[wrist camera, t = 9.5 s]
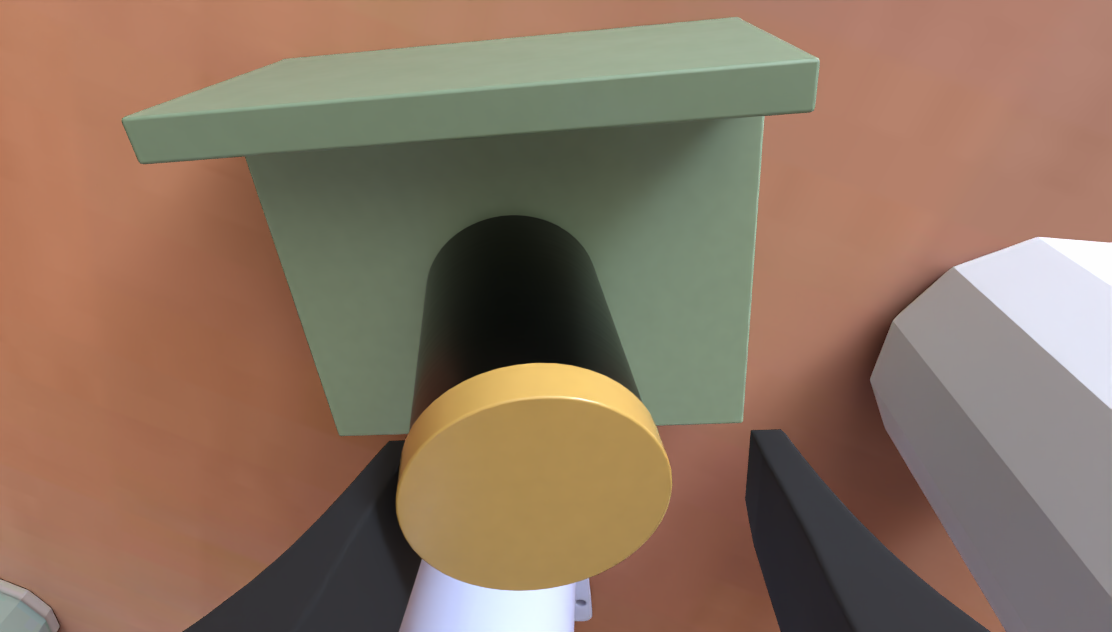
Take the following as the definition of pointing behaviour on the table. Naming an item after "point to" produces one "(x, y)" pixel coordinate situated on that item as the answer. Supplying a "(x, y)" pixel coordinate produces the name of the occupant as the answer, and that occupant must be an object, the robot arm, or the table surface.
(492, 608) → the robot arm
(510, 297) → the canister
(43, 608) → the disposable coffee cup
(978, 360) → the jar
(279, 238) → the shelf
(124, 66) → the table surface
